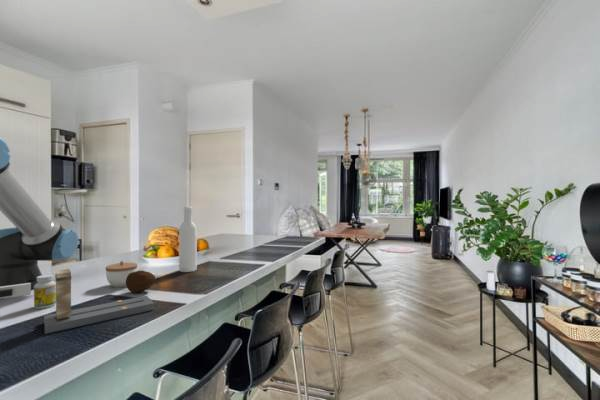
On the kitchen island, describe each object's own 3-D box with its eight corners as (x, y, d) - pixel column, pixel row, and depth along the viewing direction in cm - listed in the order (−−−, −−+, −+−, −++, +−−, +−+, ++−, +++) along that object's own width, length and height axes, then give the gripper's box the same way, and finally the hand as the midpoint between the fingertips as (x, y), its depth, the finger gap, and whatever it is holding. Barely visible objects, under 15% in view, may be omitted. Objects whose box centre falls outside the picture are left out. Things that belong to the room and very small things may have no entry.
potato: (127, 290, 112) (127, 269, 112) (156, 287, 116) (156, 267, 116) (123, 296, 106) (123, 274, 105) (154, 293, 109) (154, 271, 109)
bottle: (178, 269, 145) (178, 206, 144) (195, 267, 148) (195, 206, 148) (179, 273, 138) (179, 207, 137) (197, 271, 141) (197, 206, 141)
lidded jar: (123, 290, 113) (123, 265, 112) (98, 288, 115) (98, 263, 115) (143, 282, 123) (143, 259, 123) (120, 280, 125) (120, 257, 125)
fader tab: (56, 319, 80) (56, 274, 80) (55, 313, 84) (55, 270, 84) (71, 316, 82) (71, 272, 82) (70, 310, 86) (69, 268, 86)
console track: (44, 334, 77) (44, 325, 77) (44, 322, 84) (44, 314, 84) (154, 309, 94) (154, 302, 94) (146, 301, 101) (146, 295, 101)
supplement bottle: (60, 304, 98) (59, 274, 98) (40, 310, 93) (40, 279, 93) (49, 302, 100) (49, 273, 99) (30, 307, 95) (29, 277, 94)
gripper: (-110, 318, 68) (31, 296, 83) (-136, 338, 58) (29, 310, 73) (-110, 284, 68) (31, 269, 83) (-136, 299, 58) (30, 279, 73)
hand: (30, 288), depth 78 cm, fingers closed
